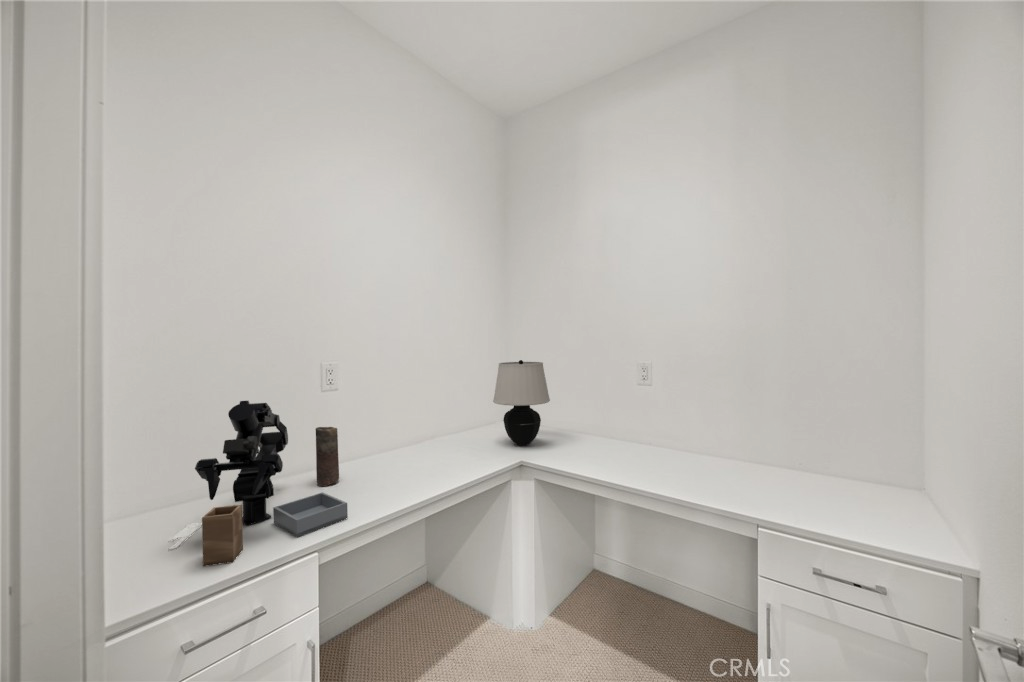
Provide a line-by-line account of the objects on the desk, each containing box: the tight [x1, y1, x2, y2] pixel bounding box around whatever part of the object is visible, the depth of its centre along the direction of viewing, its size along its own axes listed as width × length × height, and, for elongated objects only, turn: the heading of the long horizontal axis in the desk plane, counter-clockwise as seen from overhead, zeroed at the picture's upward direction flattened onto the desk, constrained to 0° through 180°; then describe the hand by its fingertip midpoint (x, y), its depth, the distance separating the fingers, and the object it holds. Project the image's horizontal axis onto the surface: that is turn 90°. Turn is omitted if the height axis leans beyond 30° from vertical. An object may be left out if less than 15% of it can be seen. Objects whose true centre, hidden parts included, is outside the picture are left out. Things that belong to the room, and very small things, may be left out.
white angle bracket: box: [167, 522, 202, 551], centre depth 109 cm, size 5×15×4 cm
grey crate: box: [272, 491, 349, 539], centre depth 117 cm, size 14×14×4 cm
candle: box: [315, 426, 340, 487], centre depth 148 cm, size 8×7×20 cm
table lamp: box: [492, 359, 551, 446], centre depth 197 cm, size 27×27×40 cm
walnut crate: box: [201, 504, 244, 567], centre depth 98 cm, size 6×6×11 cm
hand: (232, 497), depth 103 cm, fingers open, 9 cm apart
